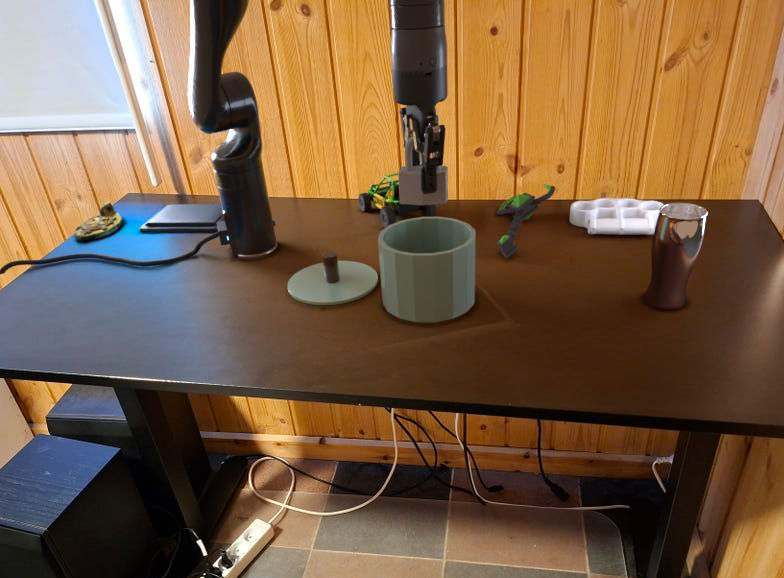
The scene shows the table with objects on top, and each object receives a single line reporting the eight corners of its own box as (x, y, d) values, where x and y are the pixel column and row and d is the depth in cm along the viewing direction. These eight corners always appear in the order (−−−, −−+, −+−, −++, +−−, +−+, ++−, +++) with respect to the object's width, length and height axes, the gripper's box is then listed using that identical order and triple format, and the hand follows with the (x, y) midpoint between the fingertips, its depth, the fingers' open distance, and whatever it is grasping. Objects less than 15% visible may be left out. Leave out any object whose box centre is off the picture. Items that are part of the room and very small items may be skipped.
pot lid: (295, 315, 105) (289, 282, 102) (282, 275, 118) (277, 244, 115) (388, 297, 108) (386, 265, 105) (366, 260, 121) (363, 230, 118)
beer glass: (687, 292, 102) (707, 203, 94) (689, 313, 97) (711, 220, 89) (641, 288, 105) (657, 200, 96) (641, 308, 99) (657, 217, 91)
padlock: (399, 206, 95) (395, 138, 90) (403, 197, 98) (399, 131, 93) (446, 206, 94) (445, 137, 88) (448, 196, 97) (447, 129, 92)
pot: (398, 332, 98) (393, 262, 92) (374, 290, 111) (368, 225, 104) (489, 314, 101) (490, 244, 94) (455, 274, 113) (455, 210, 107)
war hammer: (530, 227, 111) (553, 166, 133) (466, 248, 118) (498, 187, 140) (542, 256, 114) (563, 191, 136) (478, 275, 121) (508, 210, 143)
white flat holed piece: (571, 238, 123) (567, 211, 135) (670, 239, 119) (657, 210, 131) (573, 222, 121) (569, 195, 133) (673, 222, 117) (660, 195, 129)
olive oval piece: (105, 246, 139) (133, 219, 151) (100, 226, 136) (129, 200, 149) (64, 243, 140) (95, 216, 152) (58, 223, 137) (91, 197, 149)
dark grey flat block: (135, 224, 141) (166, 200, 153) (137, 232, 142) (168, 207, 154) (218, 224, 137) (244, 199, 149) (220, 233, 138) (245, 207, 150)
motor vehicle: (404, 198, 148) (402, 153, 142) (442, 225, 133) (441, 176, 127) (358, 208, 145) (354, 162, 139) (392, 237, 129) (388, 186, 124)
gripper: (379, 59, 90) (387, 176, 100) (408, 75, 79) (413, 206, 88) (429, 53, 92) (432, 169, 101) (464, 68, 80) (464, 198, 90)
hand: (423, 186), depth 95 cm, fingers closed on padlock, 4 cm apart
